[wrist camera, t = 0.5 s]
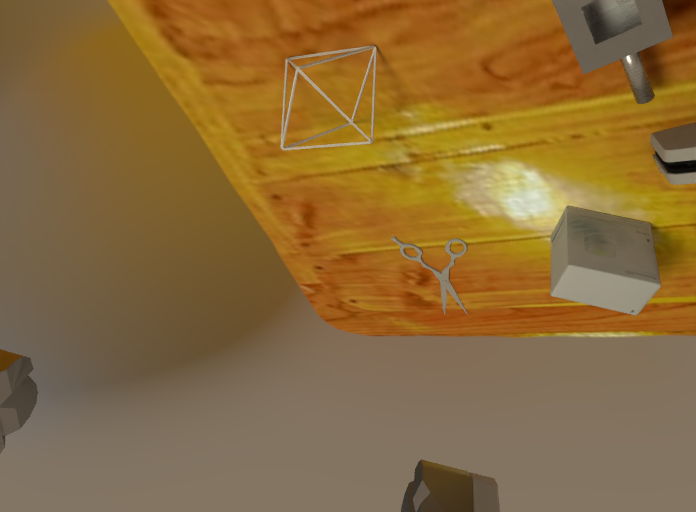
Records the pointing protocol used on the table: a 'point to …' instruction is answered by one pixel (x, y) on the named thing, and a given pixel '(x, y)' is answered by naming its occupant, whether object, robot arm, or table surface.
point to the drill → (615, 35)
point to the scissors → (441, 276)
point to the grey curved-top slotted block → (676, 153)
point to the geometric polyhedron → (354, 50)
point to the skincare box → (603, 260)
